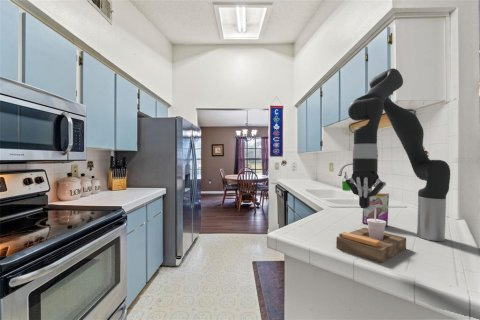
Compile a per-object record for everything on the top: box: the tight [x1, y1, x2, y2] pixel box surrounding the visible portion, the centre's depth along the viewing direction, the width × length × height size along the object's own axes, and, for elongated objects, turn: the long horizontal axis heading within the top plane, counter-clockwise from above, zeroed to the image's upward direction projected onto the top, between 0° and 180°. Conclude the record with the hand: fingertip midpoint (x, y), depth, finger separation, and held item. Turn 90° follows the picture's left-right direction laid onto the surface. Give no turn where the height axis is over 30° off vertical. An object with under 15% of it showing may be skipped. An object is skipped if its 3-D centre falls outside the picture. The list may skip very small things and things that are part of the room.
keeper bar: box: [338, 232, 380, 246], centre depth 81 cm, size 3×13×1 cm, turn 37°
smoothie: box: [367, 209, 386, 241], centre depth 87 cm, size 6×6×14 cm
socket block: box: [335, 227, 407, 264], centre depth 85 cm, size 22×15×4 cm
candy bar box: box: [361, 191, 390, 228], centre depth 118 cm, size 11×5×16 cm, turn 58°
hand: (364, 208), depth 80 cm, fingers closed
